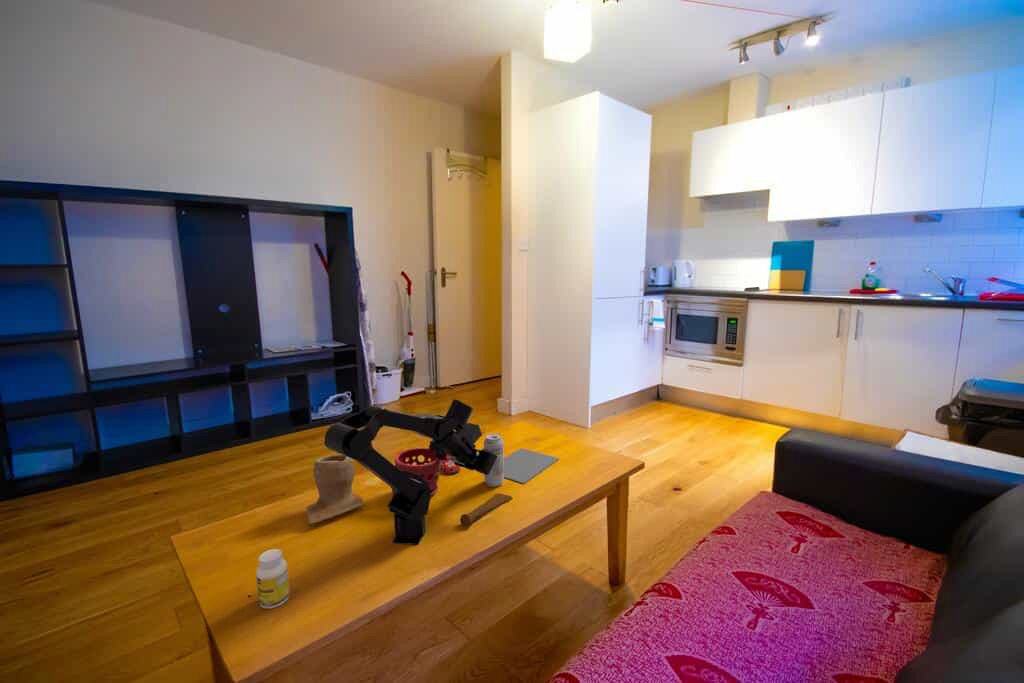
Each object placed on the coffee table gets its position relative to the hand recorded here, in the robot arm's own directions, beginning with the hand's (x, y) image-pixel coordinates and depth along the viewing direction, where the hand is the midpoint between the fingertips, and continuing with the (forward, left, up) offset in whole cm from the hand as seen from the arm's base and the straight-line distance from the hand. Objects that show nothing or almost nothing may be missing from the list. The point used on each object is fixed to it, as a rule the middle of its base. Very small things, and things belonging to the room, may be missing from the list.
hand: (479, 467), depth 129 cm
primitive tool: (+3, -9, -8) cm, 13 cm away
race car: (-14, +17, -8) cm, 23 cm away
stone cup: (-39, -13, -8) cm, 42 cm away
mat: (+11, +19, -8) cm, 24 cm away
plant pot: (-18, -2, -8) cm, 19 cm away
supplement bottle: (-34, -46, -8) cm, 58 cm away
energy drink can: (+3, +6, -8) cm, 11 cm away
